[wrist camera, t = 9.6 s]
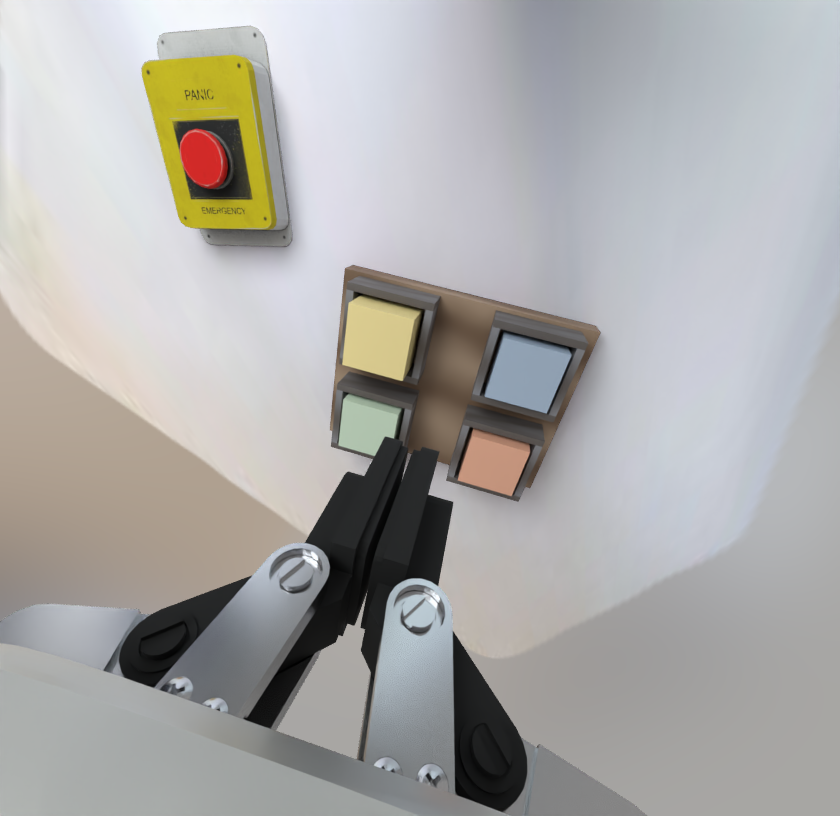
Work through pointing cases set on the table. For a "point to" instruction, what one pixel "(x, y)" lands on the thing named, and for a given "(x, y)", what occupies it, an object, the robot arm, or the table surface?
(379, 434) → the sage button
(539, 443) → the console
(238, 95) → the emergency button
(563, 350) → the slate button
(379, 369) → the mustard button
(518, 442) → the terracotta button
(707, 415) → the table surface
